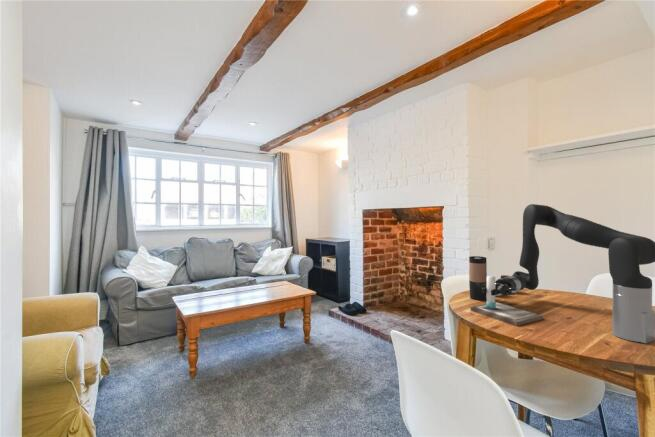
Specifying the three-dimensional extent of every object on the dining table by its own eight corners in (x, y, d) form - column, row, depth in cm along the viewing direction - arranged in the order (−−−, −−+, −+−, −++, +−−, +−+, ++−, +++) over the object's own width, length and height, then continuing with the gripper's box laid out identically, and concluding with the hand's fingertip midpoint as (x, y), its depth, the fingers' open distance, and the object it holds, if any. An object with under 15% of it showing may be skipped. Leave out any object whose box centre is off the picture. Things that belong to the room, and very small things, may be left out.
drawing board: (543, 319, 118) (543, 314, 118) (516, 326, 112) (516, 321, 112) (496, 305, 136) (496, 301, 136) (470, 310, 130) (470, 306, 130)
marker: (497, 308, 126) (497, 277, 125) (491, 309, 124) (491, 278, 124) (490, 306, 129) (490, 275, 128) (484, 307, 127) (484, 276, 127)
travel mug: (488, 298, 147) (488, 257, 147) (484, 301, 142) (483, 259, 141) (472, 295, 153) (472, 255, 152) (467, 298, 147) (466, 257, 147)
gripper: (491, 274, 140) (470, 279, 130) (525, 280, 128) (505, 286, 119) (491, 290, 140) (471, 297, 131) (525, 297, 129) (505, 305, 119)
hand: (487, 292), depth 125 cm, fingers closed on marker, 3 cm apart
